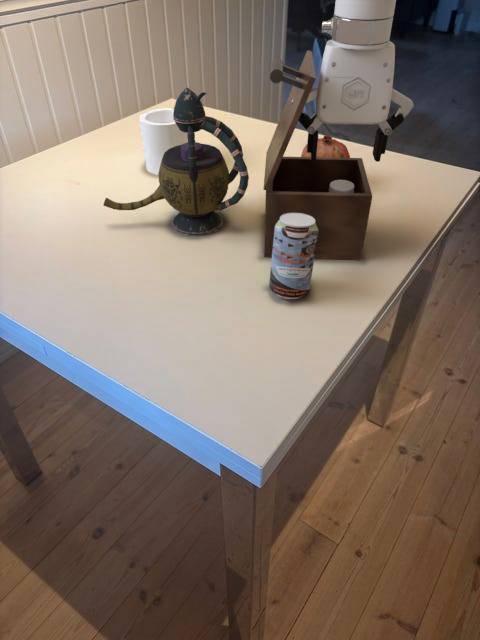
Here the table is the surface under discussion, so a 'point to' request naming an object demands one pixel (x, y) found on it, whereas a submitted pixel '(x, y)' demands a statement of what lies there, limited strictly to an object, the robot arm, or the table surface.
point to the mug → (159, 136)
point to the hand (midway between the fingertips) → (344, 157)
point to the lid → (288, 110)
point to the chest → (322, 203)
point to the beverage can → (293, 255)
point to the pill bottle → (341, 186)
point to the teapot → (196, 172)
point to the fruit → (328, 148)
